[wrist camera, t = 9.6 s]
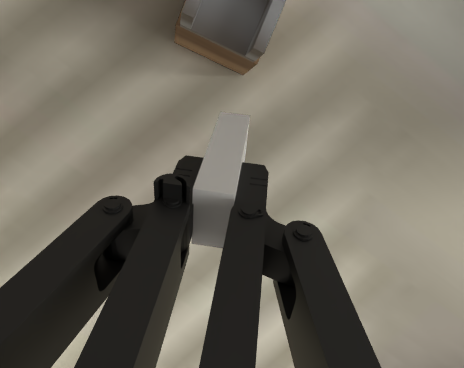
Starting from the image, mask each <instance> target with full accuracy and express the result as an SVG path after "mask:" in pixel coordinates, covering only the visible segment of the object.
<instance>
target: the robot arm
mask: <svg viewBox="0 0 464 368" xmlns="http://www.w3.org/2000/svg"><path fill="white" fill-rule="evenodd" d="M249 120H250V115H243V114H235V113H227V112H220V114H219V117H218V120H217V122H216V125H215V128H214V131H213V134H212V136H211V139H210V142H209V145H208V147H207V150H206V153H205V156H204V158H200V157H193V156H185V157H183V158H182V159H181V160H179V161H178V163H177V165H176V168H175V170H174V172H173V174H165V175H162V176H160V177H158V178H156V180H155V181H154V196H155V200H154V202H153V203H150V204H145V205H135V206H132V203H131V202H130V200H129V199H127V198H125V197H122V196H109V197H106V198H103V199H101V200H100V201H98V202H97V203H96V204H95V205H93V206H92V207H91V208H90V209H89V210H88V211H87V212H86V213H84V214H83V215H82V216H81V217H80V218H79V219H78V220H76V221H75V222H74V223H73V224H72V225H71V226H70V227H69V228H67V229H66V230H65V231H64V232H63V233H62V234H61V235H60V236H58V237H57V238H56V239H55V240H54V241H53V242H52V243H50V244H49V245H48V246H47V247H46V248H45V249H44V250H43V251H41V252H40V253H39V254H38V255H37V256H36V257H35V258H34V259H32V260H31V261H30V262H29V263H28V264H27V265H26V266H25V267H23V268H22V269H21V270H20V271H19V272H18V273H17V274H15V275H14V276H13V277H12V278H11V279H10V280H9V281H8V282H6V283H5V284H4V285H3V286H2V287H1V288H0V368H51V367H52V366H53V364H54V363H55V362H56V361H57V359H58V358H59V357H60V356H61V354H62V353H63V352H64V351H65V349H66V348H67V347H68V346H69V344H70V343H71V342H72V341H73V339H74V338H75V337H76V336H77V334H78V333H79V332H80V331H81V329H82V328H83V327H84V326H85V324H86V323H87V322H88V321H89V319H90V318H91V317H92V316H93V314H94V313H95V312H96V311H97V309H98V308H99V307H100V306H101V305H102V303H103V302H104V301H105V300H106V298H107V297H108V298H107V300H106V302H105V304H104V306H103V309H102V311H101V313H100V315H99V317H98V319H97V321H96V323H95V325H94V327H93V329H92V331H91V334H90V336H89V338H88V340H87V342H86V344H85V346H84V348H83V350H82V352H81V354H80V357H79V359H78V361H77V363H76V365H75V367H74V368H156V364H157V361H158V357H159V354H160V351H161V347H162V344H163V340H164V337H165V334H166V330H167V327H168V323H169V320H170V317H171V313H172V310H173V306H174V303H175V300H176V296H177V293H178V289H179V286H180V283H181V279H182V276H183V272H184V269H185V266H186V262H187V259H188V255H189V243H190V240H191V237H192V244H198V245H205V246H212V247H218V248H223V251H222V256H221V261H220V266H219V271H218V276H217V281H216V286H215V291H214V296H213V301H212V306H211V311H210V316H209V321H208V326H207V331H206V336H205V341H204V345H203V350H202V355H201V360H200V365H199V368H255V365H256V351H257V338H258V324H259V310H260V297H261V283H262V275H265V276H267V277H269V278H271V279H273V283H274V287H275V291H276V295H277V299H278V303H279V307H280V311H281V315H282V319H283V323H284V327H285V331H286V335H287V339H288V343H289V347H290V351H291V355H292V359H293V363H294V367H295V368H381V366H380V364H379V362H378V359H377V357H376V355H375V353H374V350H373V348H372V346H371V344H370V341H369V339H368V337H367V335H366V332H365V330H364V328H363V326H362V323H361V321H360V319H359V317H358V314H357V312H356V310H355V308H354V305H353V303H352V301H351V299H350V296H349V294H348V292H347V290H346V287H345V285H344V283H343V281H342V278H341V276H340V274H339V272H338V269H337V267H336V265H335V263H334V260H333V258H332V256H331V254H330V251H329V249H328V247H327V245H326V242H325V240H324V238H323V236H322V233H321V232H320V230H319V229H318V228H317V227H316V226H314V225H313V224H311V223H308V222H306V221H292V222H290V223H289V224H287V225H286V226H285V225H283V224H280V223H278V222H276V221H274V220H273V219H272V218H270V216H269V215H268V214H267V212H266V199H267V186H268V171H267V169H266V167H265V166H264V165H258V164H251V163H244V162H245V154H246V145H247V137H248V129H249Z"/></svg>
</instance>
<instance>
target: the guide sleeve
mask: <svg viewBox="0 0 464 368" xmlns="http://www.w3.org/2000/svg"><path fill="white" fill-rule="evenodd" d="M285 2H286V0H185V2H184V5H183V7H182V10H181V12H180V15H179V17H178V20H177V23H176V28H175V41H174V42H175V43H177V44H179V45H181V46H183V47H185V48H187V49H190V50H192V51H194V52H196V53H198V54H200V55H202V56H204V57H206V58H208V59H210V60H213V61H215V62H217V63H219V64H221V65H223V66H225V67H227V68H229V69H231V70H233V71H236V72H238V73H240V74H242V75H244V74H245V73H246V72H248V71H249V70H250V69H252V68H253V67H254V66H255V65H257V63H258V61H259V58H260V56H262V55H263V54H264V52H265V50H266V48H267V45H268V43H269V40H270V38H271V36H272V33H273V31H274V28H275V26H276V23H277V21H278V19H279V16H280V14H281V11H282V9H283V7H284V4H285Z"/></svg>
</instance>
